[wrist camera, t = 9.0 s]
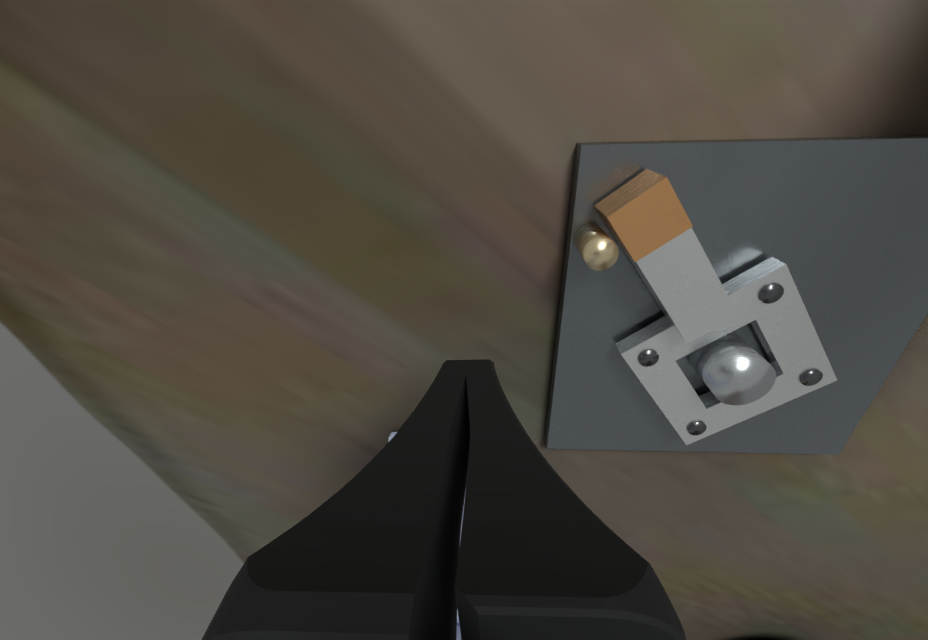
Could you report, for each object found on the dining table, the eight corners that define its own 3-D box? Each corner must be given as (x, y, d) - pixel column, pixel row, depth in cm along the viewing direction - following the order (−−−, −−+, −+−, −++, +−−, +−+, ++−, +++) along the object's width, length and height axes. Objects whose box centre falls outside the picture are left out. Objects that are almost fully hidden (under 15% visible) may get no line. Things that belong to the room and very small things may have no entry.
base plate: (826, 442, 25) (875, 490, 22) (545, 437, 26) (553, 482, 23) (1009, 134, 16) (1133, 141, 13) (576, 142, 17) (596, 151, 14)
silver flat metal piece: (822, 368, 21) (854, 393, 19) (678, 432, 24) (695, 459, 22) (710, 123, 16) (741, 126, 14) (542, 242, 18) (548, 257, 16)
